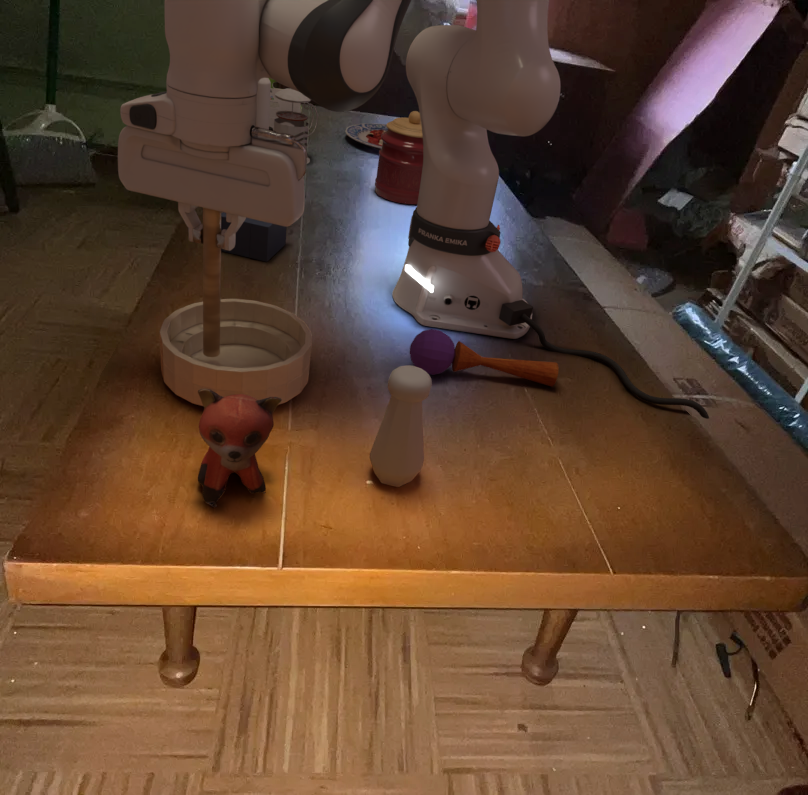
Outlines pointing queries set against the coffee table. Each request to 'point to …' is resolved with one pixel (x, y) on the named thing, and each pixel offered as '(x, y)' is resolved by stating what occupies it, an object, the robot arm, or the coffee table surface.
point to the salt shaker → (402, 428)
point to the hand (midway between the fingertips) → (211, 244)
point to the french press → (294, 117)
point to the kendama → (472, 359)
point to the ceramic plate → (367, 134)
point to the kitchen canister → (401, 160)
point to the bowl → (237, 352)
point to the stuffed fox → (233, 440)
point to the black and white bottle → (263, 104)
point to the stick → (211, 282)
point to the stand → (256, 238)
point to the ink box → (280, 106)
